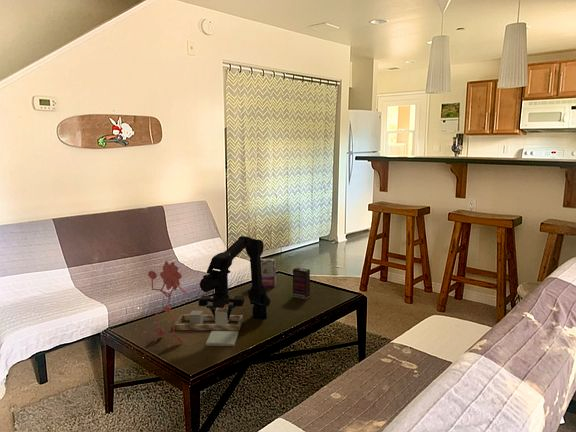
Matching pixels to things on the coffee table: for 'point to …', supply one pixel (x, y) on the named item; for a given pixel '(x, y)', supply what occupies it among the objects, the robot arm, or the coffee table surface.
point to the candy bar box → (268, 272)
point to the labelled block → (221, 316)
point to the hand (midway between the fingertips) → (222, 319)
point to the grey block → (196, 317)
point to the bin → (208, 326)
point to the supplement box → (301, 283)
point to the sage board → (222, 338)
